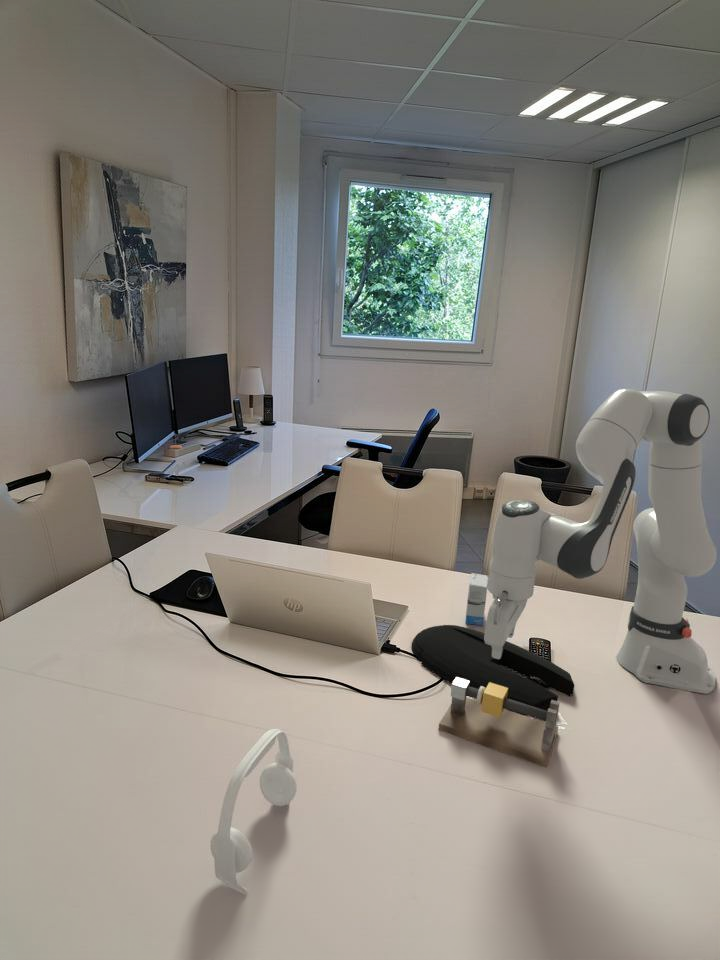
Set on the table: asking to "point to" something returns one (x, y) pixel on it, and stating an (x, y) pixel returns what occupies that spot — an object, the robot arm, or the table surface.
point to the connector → (459, 695)
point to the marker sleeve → (494, 699)
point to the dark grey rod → (510, 704)
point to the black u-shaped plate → (490, 665)
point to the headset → (275, 787)
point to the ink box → (476, 599)
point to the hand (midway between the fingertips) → (502, 646)
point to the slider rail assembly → (505, 731)
